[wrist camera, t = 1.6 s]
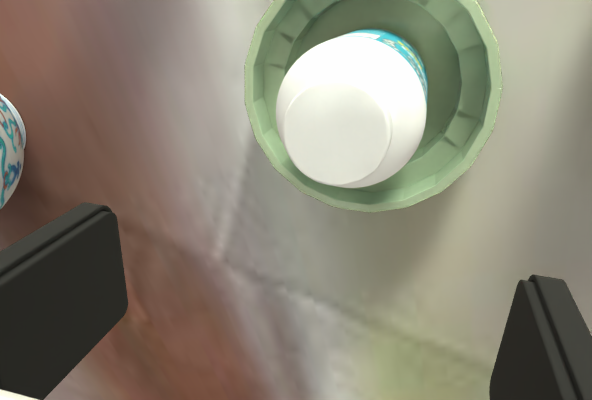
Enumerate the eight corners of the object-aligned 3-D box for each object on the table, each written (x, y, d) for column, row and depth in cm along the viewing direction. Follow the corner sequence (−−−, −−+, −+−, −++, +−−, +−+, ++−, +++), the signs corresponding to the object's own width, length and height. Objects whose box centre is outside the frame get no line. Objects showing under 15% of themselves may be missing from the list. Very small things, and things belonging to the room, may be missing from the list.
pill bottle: (432, 131, 32) (431, 213, 20) (327, 142, 34) (269, 221, 22) (424, 15, 29) (417, 29, 17) (311, 35, 31) (235, 60, 19)
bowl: (271, -45, 30) (243, -52, 26) (516, -37, 27) (533, -43, 23) (267, 169, 37) (244, 193, 32) (465, 198, 33) (470, 228, 29)
